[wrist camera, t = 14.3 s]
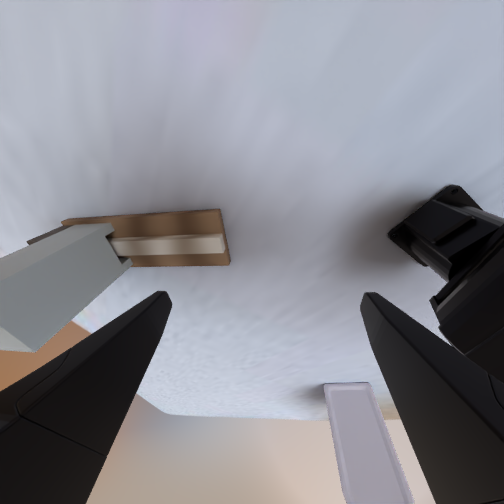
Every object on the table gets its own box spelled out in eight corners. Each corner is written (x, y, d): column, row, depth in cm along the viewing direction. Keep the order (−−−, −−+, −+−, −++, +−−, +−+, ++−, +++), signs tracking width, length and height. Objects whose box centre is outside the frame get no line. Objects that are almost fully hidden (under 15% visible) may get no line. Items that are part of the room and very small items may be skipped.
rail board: (220, 208, 20) (205, 228, 16) (230, 260, 24) (220, 287, 20) (68, 218, 23) (22, 237, 19) (98, 263, 27) (66, 287, 23)
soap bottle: (369, 380, 36) (476, 664, 17) (371, 395, 39) (461, 647, 20) (322, 381, 38) (366, 629, 19) (327, 396, 42) (369, 619, 22)
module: (110, 222, 22) (-35, 300, 12) (133, 263, 25) (35, 352, 15) (74, 224, 22) (-91, 298, 12) (101, 264, 25) (-13, 348, 15)
